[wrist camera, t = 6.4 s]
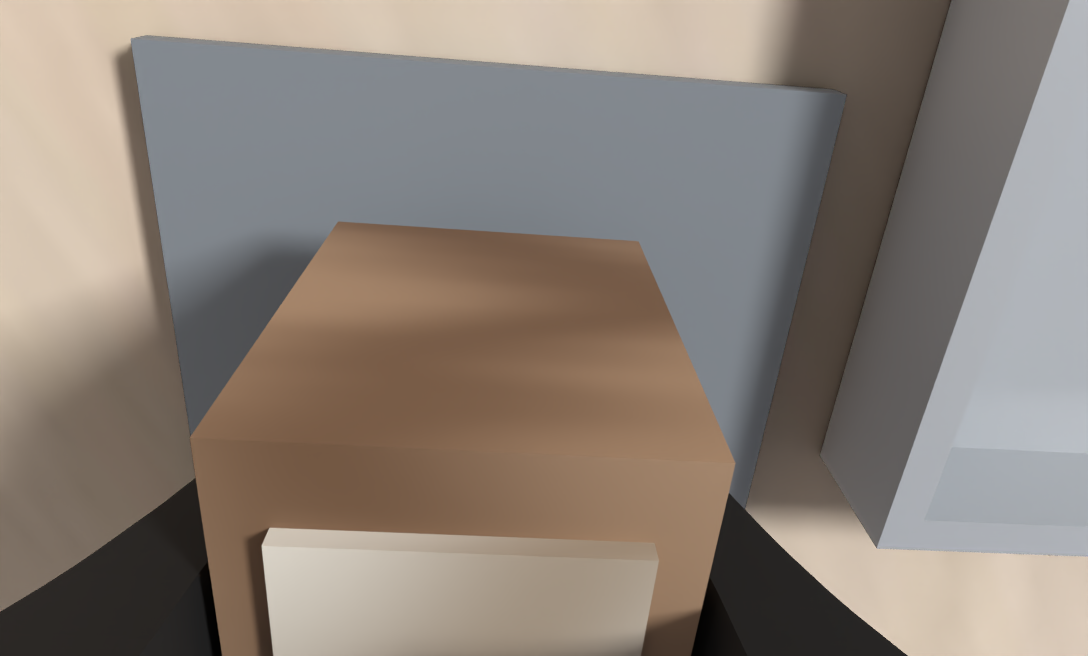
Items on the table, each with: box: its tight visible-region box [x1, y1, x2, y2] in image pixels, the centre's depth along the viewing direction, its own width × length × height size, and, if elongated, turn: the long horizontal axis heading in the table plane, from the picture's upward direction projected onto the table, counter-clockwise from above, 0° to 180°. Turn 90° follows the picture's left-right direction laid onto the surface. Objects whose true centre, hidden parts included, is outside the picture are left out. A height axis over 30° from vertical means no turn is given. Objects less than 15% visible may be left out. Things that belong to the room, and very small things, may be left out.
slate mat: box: [131, 35, 847, 509], centre depth 13 cm, size 10×10×1 cm
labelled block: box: [190, 222, 736, 656], centre depth 9 cm, size 4×6×5 cm, turn 175°
